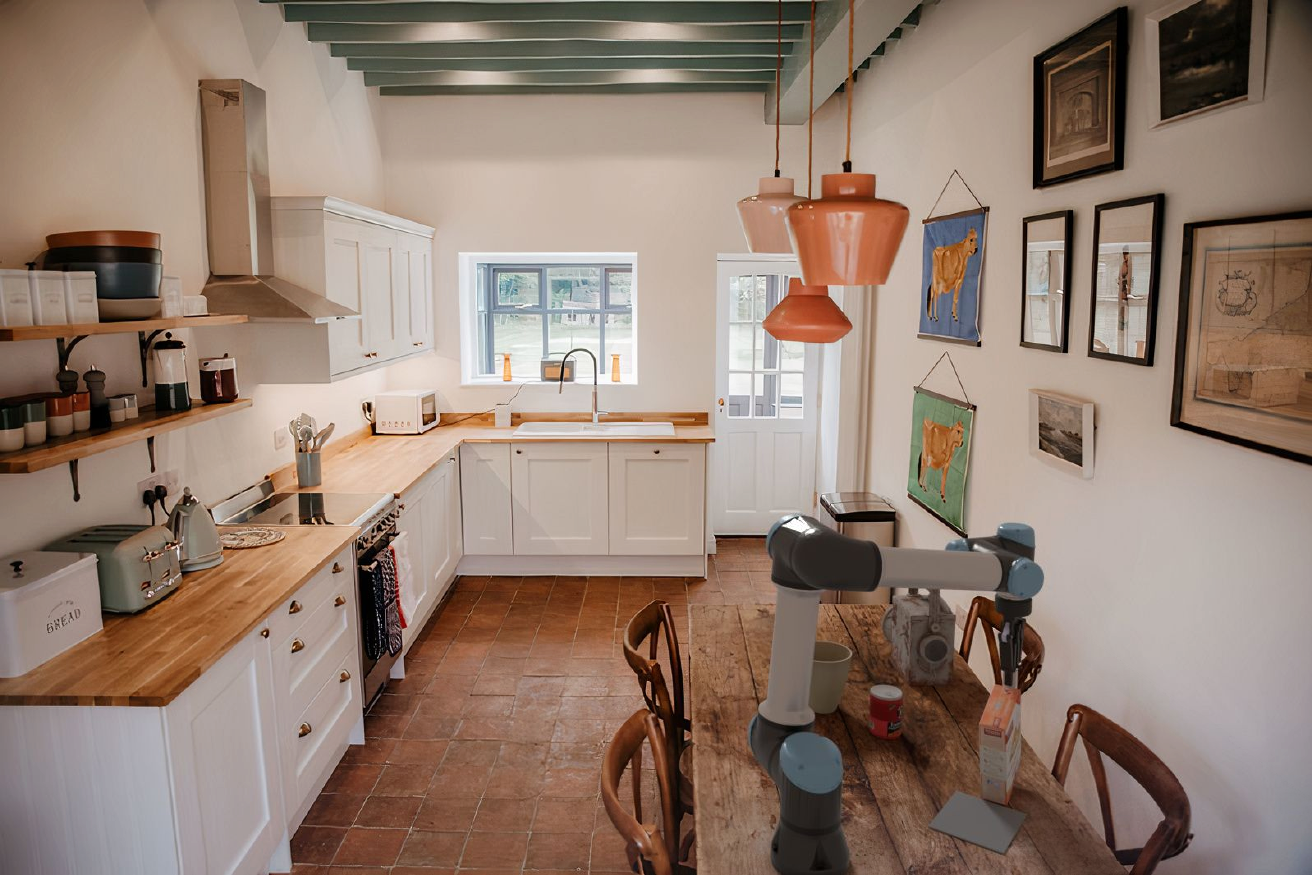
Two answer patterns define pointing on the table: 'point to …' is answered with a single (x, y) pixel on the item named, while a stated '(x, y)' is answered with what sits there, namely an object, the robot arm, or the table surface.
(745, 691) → the table surface
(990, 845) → the mat
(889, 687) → the canned food
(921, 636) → the lantern
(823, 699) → the plant pot
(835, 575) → the robot arm
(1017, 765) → the cracker box
